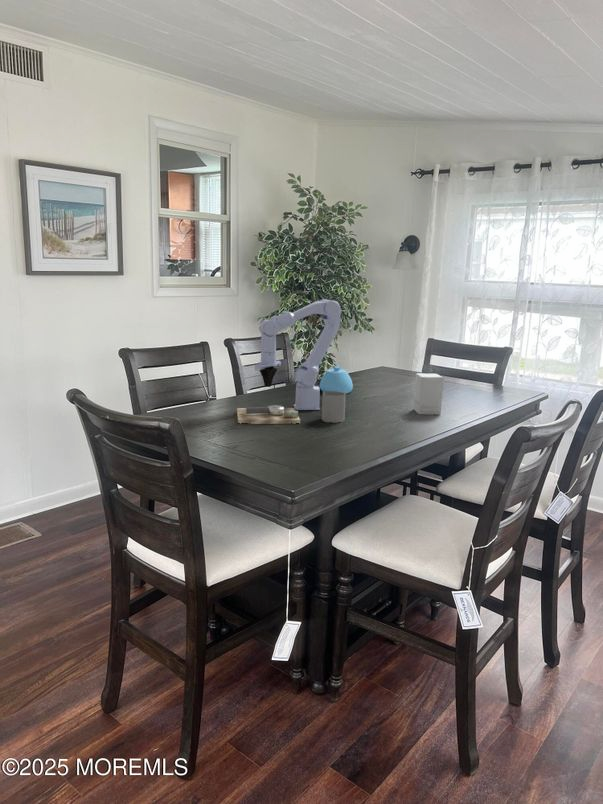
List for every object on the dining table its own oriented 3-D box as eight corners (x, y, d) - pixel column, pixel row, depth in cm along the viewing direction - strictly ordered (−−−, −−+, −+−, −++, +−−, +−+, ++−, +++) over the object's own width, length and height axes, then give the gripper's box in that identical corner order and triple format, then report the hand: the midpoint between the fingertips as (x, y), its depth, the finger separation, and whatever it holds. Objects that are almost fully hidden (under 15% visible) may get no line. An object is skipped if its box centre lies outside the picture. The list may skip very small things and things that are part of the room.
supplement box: (441, 415, 234) (444, 377, 230) (418, 414, 233) (421, 377, 230) (434, 409, 242) (437, 373, 239) (412, 409, 242) (415, 372, 239)
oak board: (293, 411, 232) (294, 401, 232) (300, 423, 215) (300, 413, 214) (236, 412, 229) (236, 402, 228) (238, 424, 212) (238, 413, 211)
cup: (328, 423, 216) (329, 396, 214) (317, 418, 223) (318, 392, 221) (348, 421, 220) (349, 394, 218) (337, 416, 227) (338, 390, 225)
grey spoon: (282, 411, 225) (282, 405, 224) (285, 415, 219) (285, 408, 219) (245, 412, 222) (245, 406, 221) (247, 416, 216) (247, 409, 215)
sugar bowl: (358, 391, 275) (359, 366, 272) (342, 396, 262) (343, 370, 260) (329, 387, 282) (330, 363, 280) (313, 392, 270) (314, 366, 268)
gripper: (270, 348, 237) (270, 382, 240) (248, 352, 225) (248, 387, 228) (285, 350, 233) (284, 384, 236) (263, 354, 221) (263, 390, 224)
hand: (267, 386), depth 232 cm, fingers closed
